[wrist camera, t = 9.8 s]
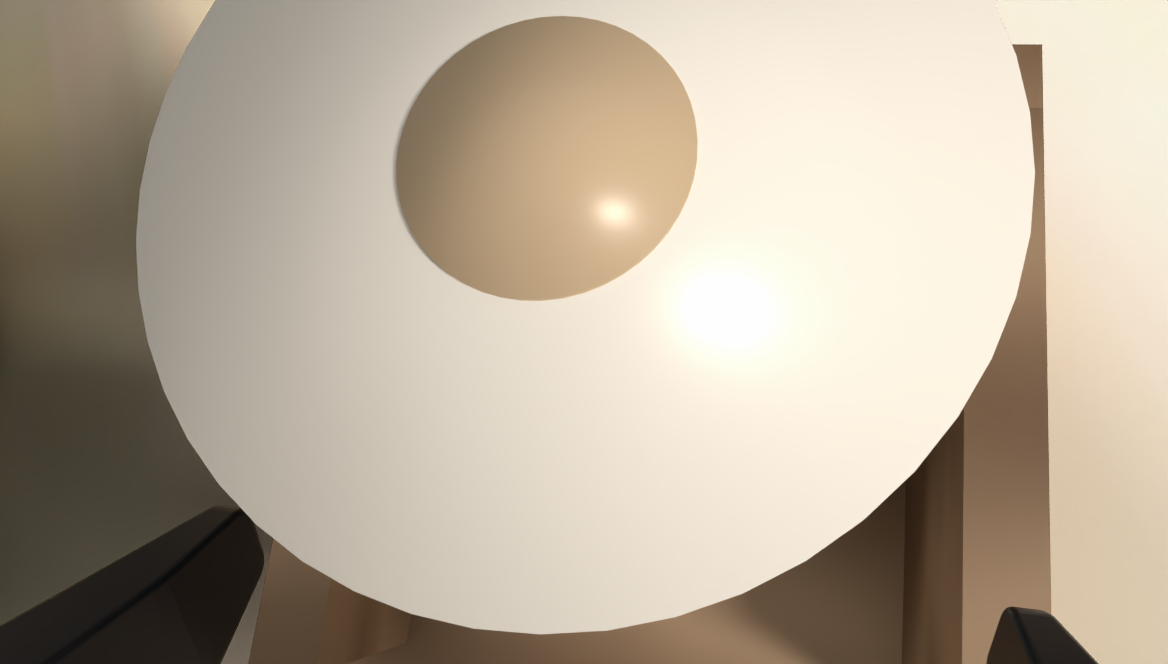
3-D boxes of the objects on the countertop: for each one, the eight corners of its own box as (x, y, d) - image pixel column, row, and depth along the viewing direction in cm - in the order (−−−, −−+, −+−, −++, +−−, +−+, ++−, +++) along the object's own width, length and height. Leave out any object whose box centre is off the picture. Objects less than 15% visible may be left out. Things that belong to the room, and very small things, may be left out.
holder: (1005, 813, 15) (1122, 929, 10) (319, 693, 17) (187, 746, 13) (1003, 130, 18) (1092, 3, 14) (422, 117, 21) (341, 8, 16)
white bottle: (671, 636, 16) (534, 901, 4) (458, 413, 18) (-20, 200, 6) (889, 399, 16) (1280, 87, 5) (658, 207, 18) (545, -345, 7)
